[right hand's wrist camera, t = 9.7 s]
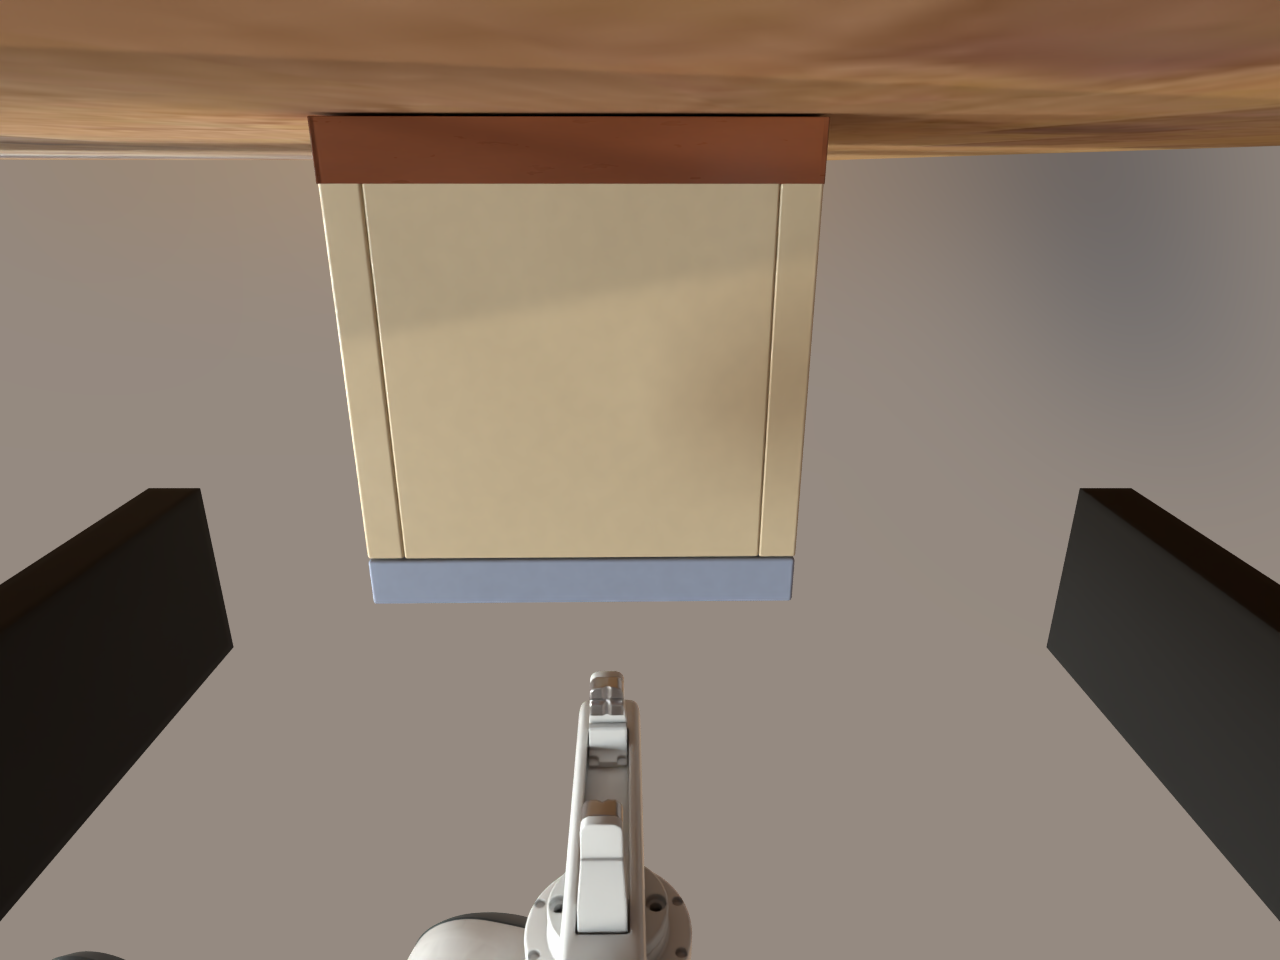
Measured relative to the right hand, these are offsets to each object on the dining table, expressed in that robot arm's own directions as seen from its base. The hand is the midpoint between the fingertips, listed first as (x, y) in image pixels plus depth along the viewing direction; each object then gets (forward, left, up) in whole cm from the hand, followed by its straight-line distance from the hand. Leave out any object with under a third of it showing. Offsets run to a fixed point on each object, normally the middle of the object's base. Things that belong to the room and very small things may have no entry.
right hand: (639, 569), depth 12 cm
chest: (+4, -13, -7) cm, 16 cm away
